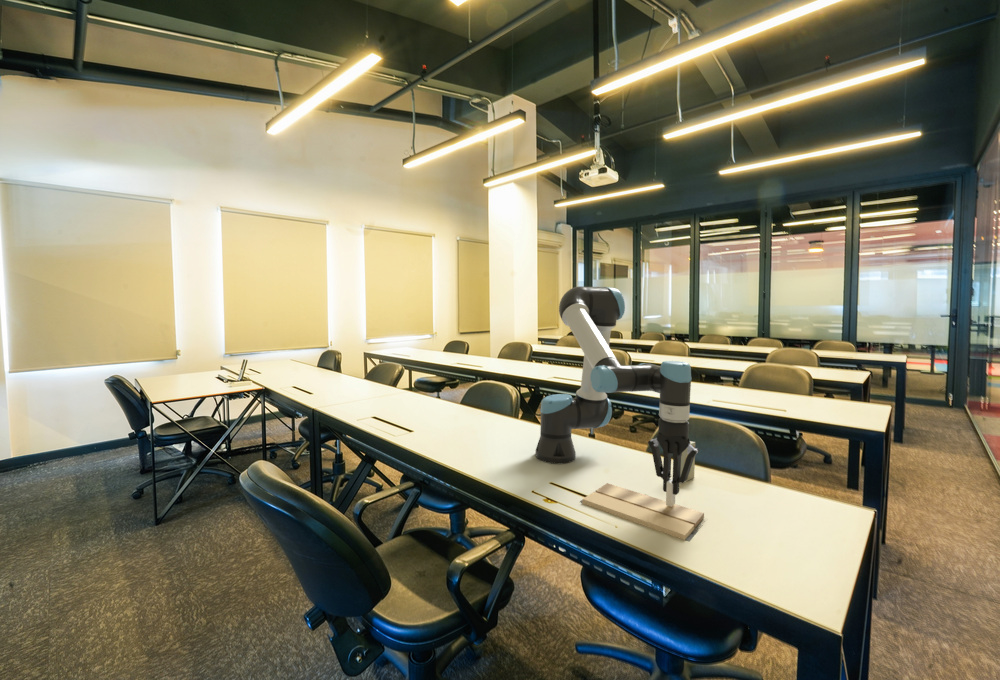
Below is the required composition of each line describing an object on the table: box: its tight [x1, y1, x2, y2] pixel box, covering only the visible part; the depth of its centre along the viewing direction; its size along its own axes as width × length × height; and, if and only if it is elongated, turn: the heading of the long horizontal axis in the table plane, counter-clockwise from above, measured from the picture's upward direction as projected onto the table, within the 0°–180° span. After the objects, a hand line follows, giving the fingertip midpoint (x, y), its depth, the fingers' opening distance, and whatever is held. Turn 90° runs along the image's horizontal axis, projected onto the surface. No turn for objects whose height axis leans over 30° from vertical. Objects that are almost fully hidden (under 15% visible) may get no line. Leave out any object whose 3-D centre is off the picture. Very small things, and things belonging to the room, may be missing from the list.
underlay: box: [579, 491, 707, 542], centre depth 114 cm, size 30×15×2 cm, turn 48°
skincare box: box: [680, 440, 696, 482], centre depth 140 cm, size 6×4×12 cm
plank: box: [595, 482, 705, 529], centre depth 117 cm, size 28×7×1 cm, turn 48°
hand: (670, 504), depth 114 cm, fingers closed
